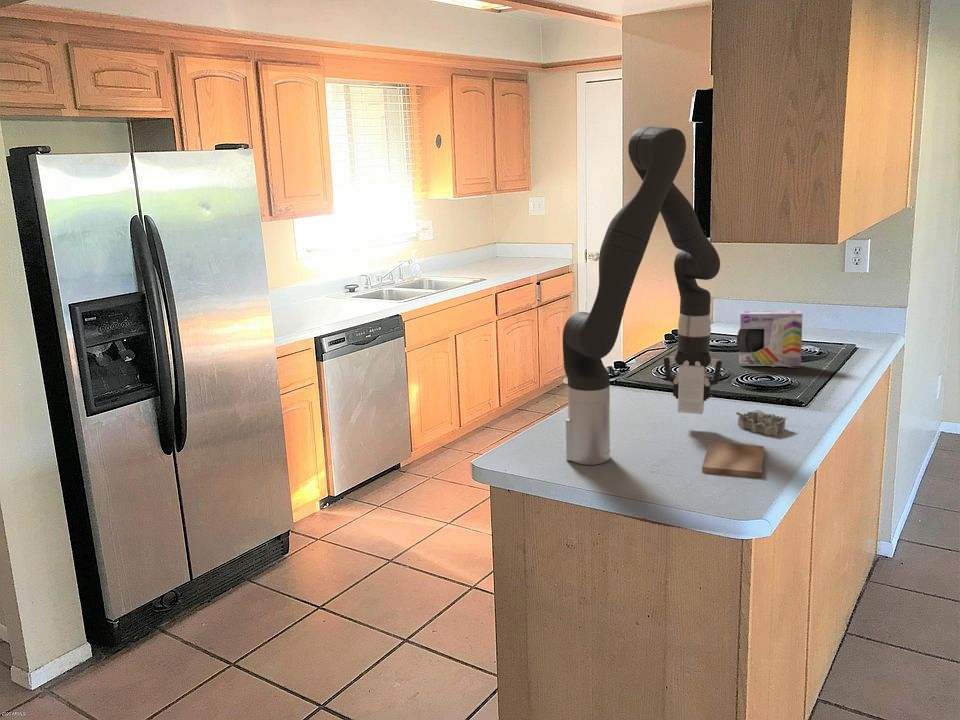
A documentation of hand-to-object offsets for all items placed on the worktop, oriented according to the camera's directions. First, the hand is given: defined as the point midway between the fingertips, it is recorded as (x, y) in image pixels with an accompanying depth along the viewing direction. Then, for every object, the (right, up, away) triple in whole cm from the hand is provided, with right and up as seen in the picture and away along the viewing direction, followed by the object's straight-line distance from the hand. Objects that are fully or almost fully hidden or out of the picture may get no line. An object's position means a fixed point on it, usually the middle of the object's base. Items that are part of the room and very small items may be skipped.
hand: (691, 398), depth 196 cm
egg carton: (+17, -8, 0) cm, 19 cm away
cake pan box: (+39, +7, +55) cm, 68 cm away
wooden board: (+4, -13, -20) cm, 24 cm away
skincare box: (0, -3, +1) cm, 3 cm away
